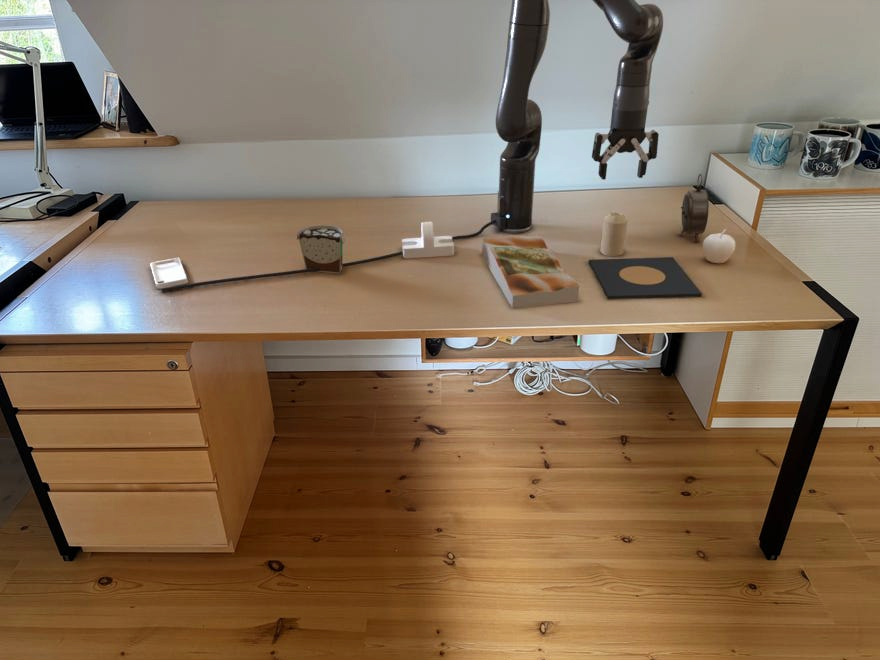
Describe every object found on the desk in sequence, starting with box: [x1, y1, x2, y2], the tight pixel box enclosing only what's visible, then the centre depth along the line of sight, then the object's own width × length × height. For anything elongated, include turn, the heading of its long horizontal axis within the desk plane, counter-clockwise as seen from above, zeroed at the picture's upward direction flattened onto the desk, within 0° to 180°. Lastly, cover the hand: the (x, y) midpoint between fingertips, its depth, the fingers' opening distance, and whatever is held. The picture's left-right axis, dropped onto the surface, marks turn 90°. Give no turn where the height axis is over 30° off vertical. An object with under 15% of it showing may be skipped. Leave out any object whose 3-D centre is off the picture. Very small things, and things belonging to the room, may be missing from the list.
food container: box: [296, 224, 346, 275], centre depth 165 cm, size 12×6×10 cm, turn 71°
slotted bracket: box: [401, 221, 455, 259], centre depth 171 cm, size 13×7×8 cm, turn 93°
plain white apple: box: [702, 228, 736, 264], centre depth 158 cm, size 7×7×8 cm
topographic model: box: [481, 235, 580, 309], centre depth 156 cm, size 30×14×5 cm, turn 7°
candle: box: [600, 211, 629, 257], centre depth 165 cm, size 6×6×10 cm
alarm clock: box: [679, 173, 710, 243], centre depth 170 cm, size 11×5×16 cm, turn 168°
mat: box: [588, 256, 703, 300], centre depth 153 cm, size 20×20×1 cm
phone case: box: [149, 257, 189, 290], centre depth 167 cm, size 7×1×15 cm
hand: (621, 177), depth 157 cm, fingers open, 8 cm apart
